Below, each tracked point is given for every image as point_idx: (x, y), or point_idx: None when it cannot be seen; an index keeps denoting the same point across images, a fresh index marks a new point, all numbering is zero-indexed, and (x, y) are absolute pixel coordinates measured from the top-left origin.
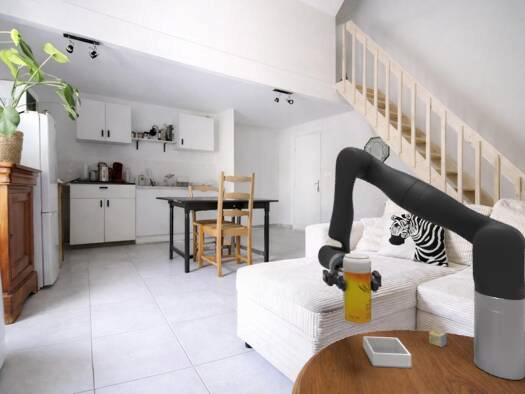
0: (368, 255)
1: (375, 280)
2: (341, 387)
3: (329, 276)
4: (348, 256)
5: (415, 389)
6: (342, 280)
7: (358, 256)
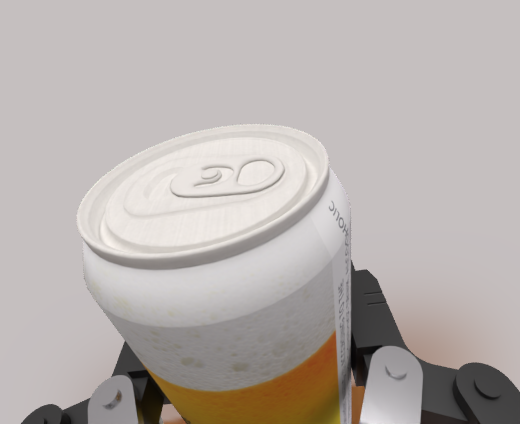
0: (87, 193)
1: (120, 360)
2: (351, 392)
3: (485, 366)
4: (291, 171)
5: (181, 418)
6: (351, 273)
7: (198, 166)
